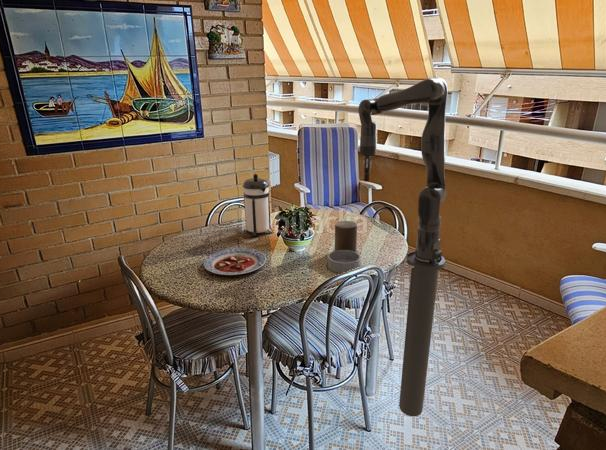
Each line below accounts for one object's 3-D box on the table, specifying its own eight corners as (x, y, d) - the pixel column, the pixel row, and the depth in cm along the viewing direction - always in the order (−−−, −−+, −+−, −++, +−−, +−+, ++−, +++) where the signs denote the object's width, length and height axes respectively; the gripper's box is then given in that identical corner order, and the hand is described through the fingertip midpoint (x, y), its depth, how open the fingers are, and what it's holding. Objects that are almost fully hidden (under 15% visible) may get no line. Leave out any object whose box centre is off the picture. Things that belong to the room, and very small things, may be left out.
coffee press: (277, 227, 213) (275, 170, 203) (267, 238, 199) (265, 178, 188) (246, 225, 217) (242, 169, 207) (234, 235, 202) (230, 176, 192)
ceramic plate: (248, 283, 155) (248, 276, 154) (191, 273, 164) (190, 267, 163) (276, 257, 178) (276, 251, 177) (224, 249, 186) (224, 243, 185)
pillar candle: (350, 259, 175) (351, 226, 170) (330, 254, 180) (330, 222, 175) (360, 251, 183) (361, 219, 178) (341, 246, 188) (341, 216, 183)
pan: (366, 266, 168) (367, 256, 167) (345, 276, 160) (345, 266, 159) (342, 256, 178) (343, 247, 176) (321, 266, 169) (321, 256, 168)
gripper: (376, 146, 182) (374, 184, 188) (376, 142, 194) (374, 177, 200) (359, 146, 183) (357, 184, 189) (360, 142, 195) (359, 177, 201)
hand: (366, 180), depth 194 cm, fingers closed
